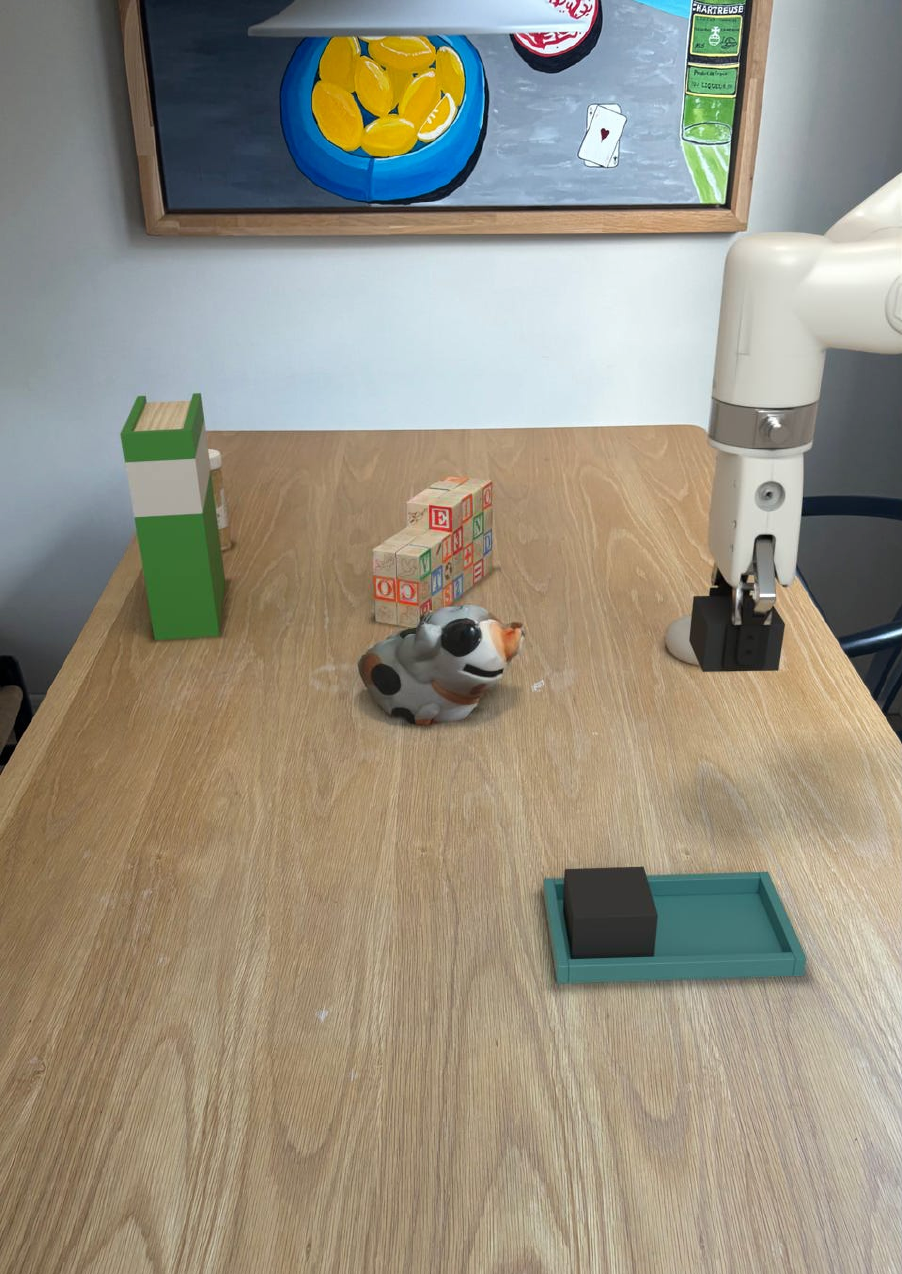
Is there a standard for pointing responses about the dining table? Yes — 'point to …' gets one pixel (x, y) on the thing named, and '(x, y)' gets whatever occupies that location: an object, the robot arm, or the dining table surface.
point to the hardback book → (175, 516)
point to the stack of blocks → (435, 551)
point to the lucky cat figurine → (440, 664)
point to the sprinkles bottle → (219, 498)
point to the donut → (681, 640)
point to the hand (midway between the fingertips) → (733, 648)
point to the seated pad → (609, 913)
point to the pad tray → (693, 932)
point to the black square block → (712, 629)
